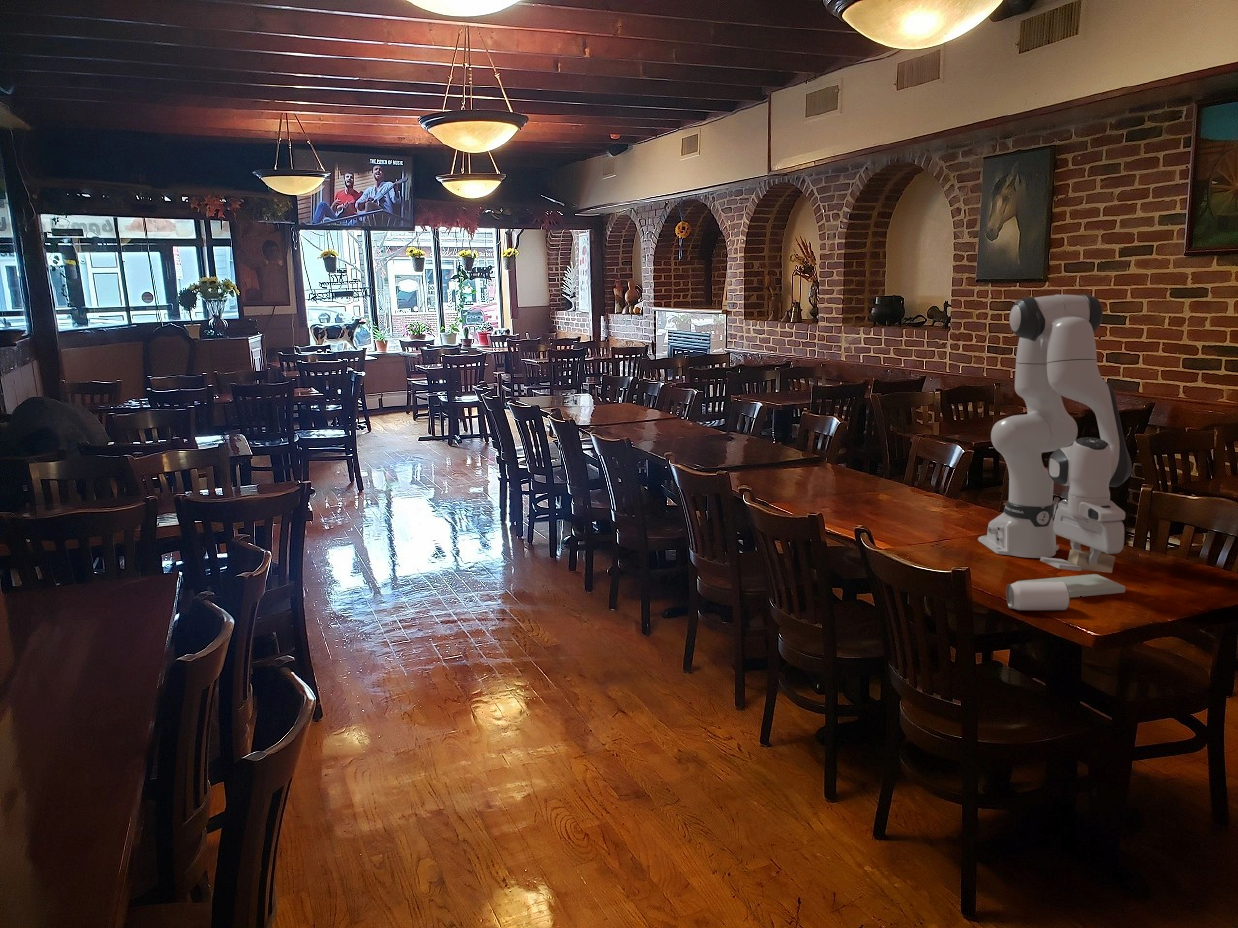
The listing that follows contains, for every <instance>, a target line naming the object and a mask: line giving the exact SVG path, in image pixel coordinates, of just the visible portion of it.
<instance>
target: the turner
mask: <svg viewBox="0 0 1238 928" xmlns="http://www.w3.org/2000/svg"><path fill="white" fill-rule="evenodd" d="M1090 554H1091V551H1088V550H1082V551H1080V550H1073V549H1072V548H1071V549H1069V553H1068V558H1067V560H1065V559H1063V558H1056V557H1055V558H1054V557H1041V558H1039V562H1043V563H1045V564H1046V565H1049V566H1052V567H1054V568H1057V569H1058V570H1067V571H1077V572H1082V570H1083V571H1092V572H1102V573H1109V574H1112V573H1113V568H1114V565H1115V560H1116V556H1113V555H1111V554H1107V553H1105V552H1101V554H1100V555H1099V557H1098V558H1097V564H1096V565H1090V564H1087V563H1086V561H1087V557H1089V556H1090Z"/></svg>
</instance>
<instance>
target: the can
mask: <svg viewBox="0 0 1238 928" xmlns="http://www.w3.org/2000/svg"><path fill="white" fill-rule="evenodd" d="M1005 590H1006V591H1005V596H1006V597H1005V598H1006V603H1007V605H1008V606H1007V607H1008V608H1009V609H1014V610H1016V611H1066V610H1067V609H1068V608H1069V606H1070V602H1071V600H1070V599H1071V598H1070V595H1069V590H1068V587H1067V585H1066V584H1065V583H1064V582H1016V581H1014V582H1012V583H1008V584H1007V585H1006V589H1005Z"/></svg>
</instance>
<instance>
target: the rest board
mask: <svg viewBox="0 0 1238 928" xmlns="http://www.w3.org/2000/svg"><path fill="white" fill-rule="evenodd" d="M1015 582H1064V583H1065V584H1066V585H1067V587H1068V590H1069V595H1070V599H1072V598H1081V597H1080V596H1082V597H1088V596H1089V597H1091V596H1101V595H1112V594H1124V593H1126V586H1125V585H1122V584H1121V583H1118V582H1116V581H1114V580H1111V579H1109V578H1107V577H1104V576H1102V575H1100V574H1097V573H1092V574H1081V575H1070V576H1060V577H1049V578H1037V579H1025V580H1024V579H1023V580H1016V581H1015Z"/></svg>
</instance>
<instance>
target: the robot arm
mask: <svg viewBox="0 0 1238 928" xmlns="http://www.w3.org/2000/svg"><path fill="white" fill-rule="evenodd" d="M1101 303H1102V302H1101V301H1100V300H1099V299H1098V298H1097V296H1093V295H1088V294H1079V295H1078V294H1054V295H1043V296H1037V297H1036V296H1035V297H1033V296H1028V297H1024V298H1019V299H1018V300H1016V301H1015V302H1014V303H1013V305H1012V306H1011V309H1010V310H1009V311H1010V312H1009V315H1008V316H1009V317H1008V320H1009V322H1008V324H1009V329H1010V331H1011V332H1012V333H1013V334H1014V335H1015V336H1017V337H1018V341H1017V342H1018V343H1017V349H1016V356H1015V371H1014V372H1015V374H1014V391H1015V393H1016V394H1017V396H1018V397H1020V398H1021V399H1023V402H1024V403H1025V406H1026V411H1027V412H1026V413H1027V414H1016V415H1011V416H1008V417H1005V418H1003V419H1001V420H998V421H997V422H995V424H993V426H992V429H991V432H990V441H991V443H992V446H993V448H994V449H995V450H996V451H997V452H998V453H1000V454H1001V456H1002V457H1003V459H1004V461H1005V463H1006V467H1007V470H1008V479H1009V480H1008V499H1007V500H1002V502H1003V504H1002V505H1003V506H1004V509H1003V512H1002V513H1001V514H999V515H998V516H996V517H995V518H993V519H991V520H990V521H989V522H988V524H987V525H988V526H987V534H985V535H981V536H979V537H978V538H977V541H978V542H979V543H981V544H982V545H984V546H985V547H986V548H987V549H989V550H991V551H992V552H994V553H995V554H997V555H1003V556H1004V555H1006V556H1014V557H1019V558H1027V559H1028V558H1031V559H1041V557H1047V558H1052V557H1054V556H1055V555H1056V554H1057V551H1058V550H1059V549H1060V547H1059V545H1058V544H1057V538H1056V537H1057V536H1058V537H1062V538H1064V539H1067V540H1069V541H1070V543H1069V544H1070V546H1071V550H1080V551H1083V550H1082V546H1081V545H1083V546H1085V547H1089V552H1091V554H1090V556H1089V557H1087V561H1086V563H1087V564H1090V565H1096V564H1097V558H1098V557H1099V555H1100V554H1101V553H1106V554H1109V555H1111V554H1119V553H1121V552H1122V551H1123V549H1124V546H1125V545H1124V544H1125V525H1124V523H1123V521H1124V520H1125V519H1126V512H1125V510H1123V509H1122V508H1121V507H1119V506H1118V505H1117V504H1116V503H1114V501H1112V500H1111V491H1110V487H1111V488H1117V487H1119V486H1121V485H1122V484H1123V483H1125V481H1127V480H1128V479H1129V478H1130V476H1131V474H1132V473H1133V465H1132V464H1133V463H1132V459H1131V456H1130V453H1129V451H1128V448H1127V446H1126V441H1125V436H1124V432H1123V427H1122V423H1121V422H1122V421H1121V417H1120V412H1119V407H1118V403H1117V398H1116V395H1115V392H1114V389H1113V387H1112V385H1111V383H1109V382H1107V381H1105V380H1104V379H1103V377H1102V375H1101V373H1100V370H1099V368H1098V366H1099V365H1098V360H1097V359H1098V358H1097V344H1096V339H1095V333H1094V332H1096V331H1097V329H1099V327H1100V326H1101V325H1102V321H1103V317H1104V310H1103V306H1102V304H1101ZM1062 397H1063V398H1066V399H1069V400H1072V401H1074V402H1075V401H1076V402H1078V403H1080V404H1083V405H1084V406H1087V407H1088V408H1090V410H1092V412H1093V413H1094V414H1095V417H1096V422H1097V423H1096V424H1097V427H1098V432H1099V437H1100V438H1097V437H1080V438H1077V437H1078V433H1079V432H1078V431H1079V429H1078V424H1077V422H1076V420H1075V419H1074V418H1073V416H1071V415H1070V414H1069V413H1068V411H1067V410H1066V407H1065V405H1064V402H1063V398H1062ZM1050 452H1052V454H1050V456H1049V458H1048V462H1047V468H1046V467H1045V466H1044V463H1043V459H1042V455H1043V453H1050ZM1055 484H1057V485H1059V486H1065V487H1069V490H1068V492H1067V494H1068V495H1067V499H1066V498H1063V499H1062V500H1060V501H1059V502H1058V505H1057V508H1056V510H1055V505H1054V503H1053V501H1054V500H1053V499H1054V498H1053V497H1054V485H1055ZM1054 513H1055V514H1054ZM1053 517H1054V519H1053Z"/></svg>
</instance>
